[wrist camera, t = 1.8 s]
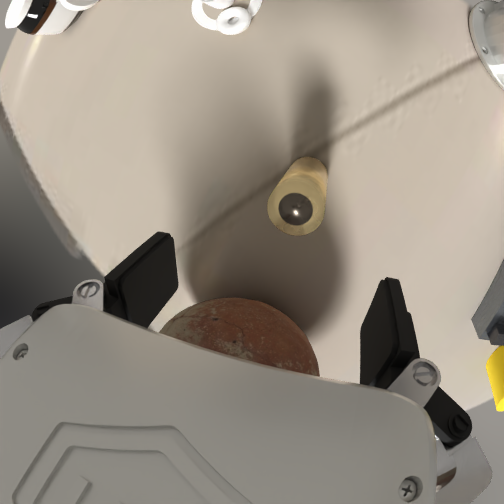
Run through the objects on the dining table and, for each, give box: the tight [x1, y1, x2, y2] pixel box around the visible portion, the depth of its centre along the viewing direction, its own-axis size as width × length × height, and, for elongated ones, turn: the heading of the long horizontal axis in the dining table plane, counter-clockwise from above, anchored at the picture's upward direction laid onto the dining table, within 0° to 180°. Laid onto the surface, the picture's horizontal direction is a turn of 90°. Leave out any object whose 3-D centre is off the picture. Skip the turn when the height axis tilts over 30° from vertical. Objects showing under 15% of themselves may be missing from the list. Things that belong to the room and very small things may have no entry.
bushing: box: [267, 157, 328, 236], centre depth 23 cm, size 4×4×10 cm
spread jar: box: [5, 0, 99, 35], centre depth 15 cm, size 12×11×12 cm
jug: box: [159, 297, 320, 377], centre depth 27 cm, size 22×22×30 cm
